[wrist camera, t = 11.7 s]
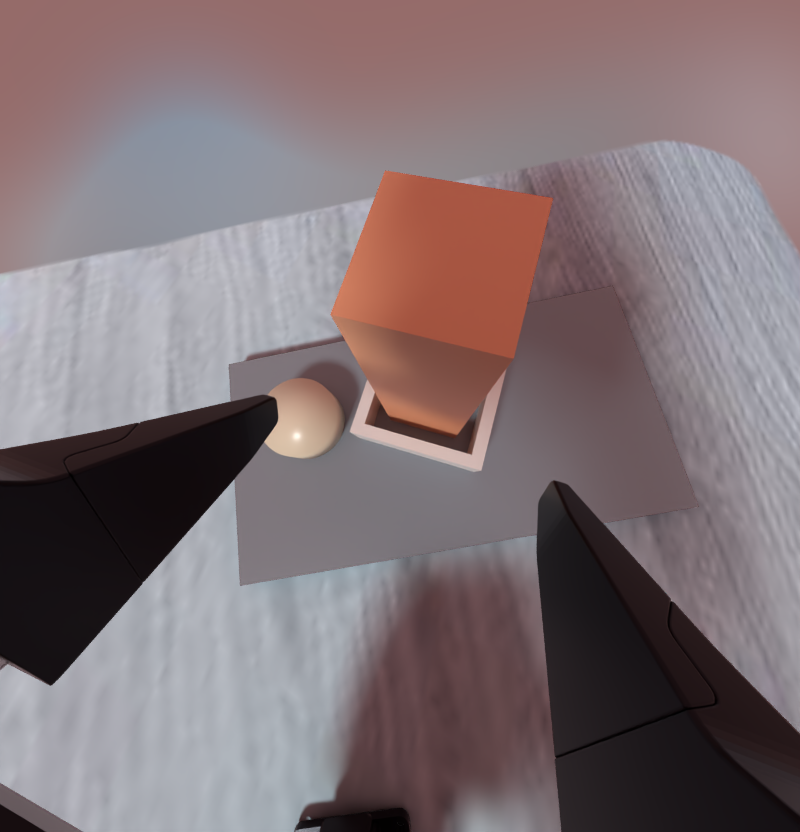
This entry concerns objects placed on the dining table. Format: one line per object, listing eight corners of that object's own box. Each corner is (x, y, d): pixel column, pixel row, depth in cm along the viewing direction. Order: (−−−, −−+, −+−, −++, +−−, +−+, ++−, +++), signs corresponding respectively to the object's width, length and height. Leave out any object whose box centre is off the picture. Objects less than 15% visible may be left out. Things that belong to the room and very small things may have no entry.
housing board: (684, 505, 18) (744, 511, 15) (249, 580, 19) (211, 602, 16) (604, 294, 21) (638, 259, 18) (237, 369, 23) (204, 349, 19)
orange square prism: (454, 438, 19) (513, 359, 6) (390, 420, 20) (330, 314, 7) (471, 376, 20) (553, 198, 7) (409, 360, 21) (385, 170, 8)
